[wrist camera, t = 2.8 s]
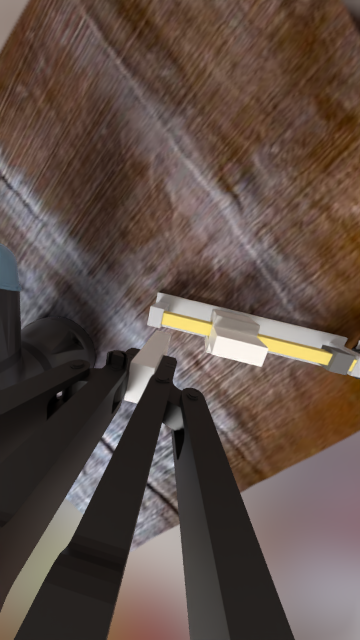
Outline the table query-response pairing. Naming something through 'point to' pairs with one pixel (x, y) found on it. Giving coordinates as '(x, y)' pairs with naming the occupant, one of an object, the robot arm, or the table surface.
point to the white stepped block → (235, 338)
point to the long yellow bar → (274, 344)
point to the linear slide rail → (266, 325)
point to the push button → (359, 350)
